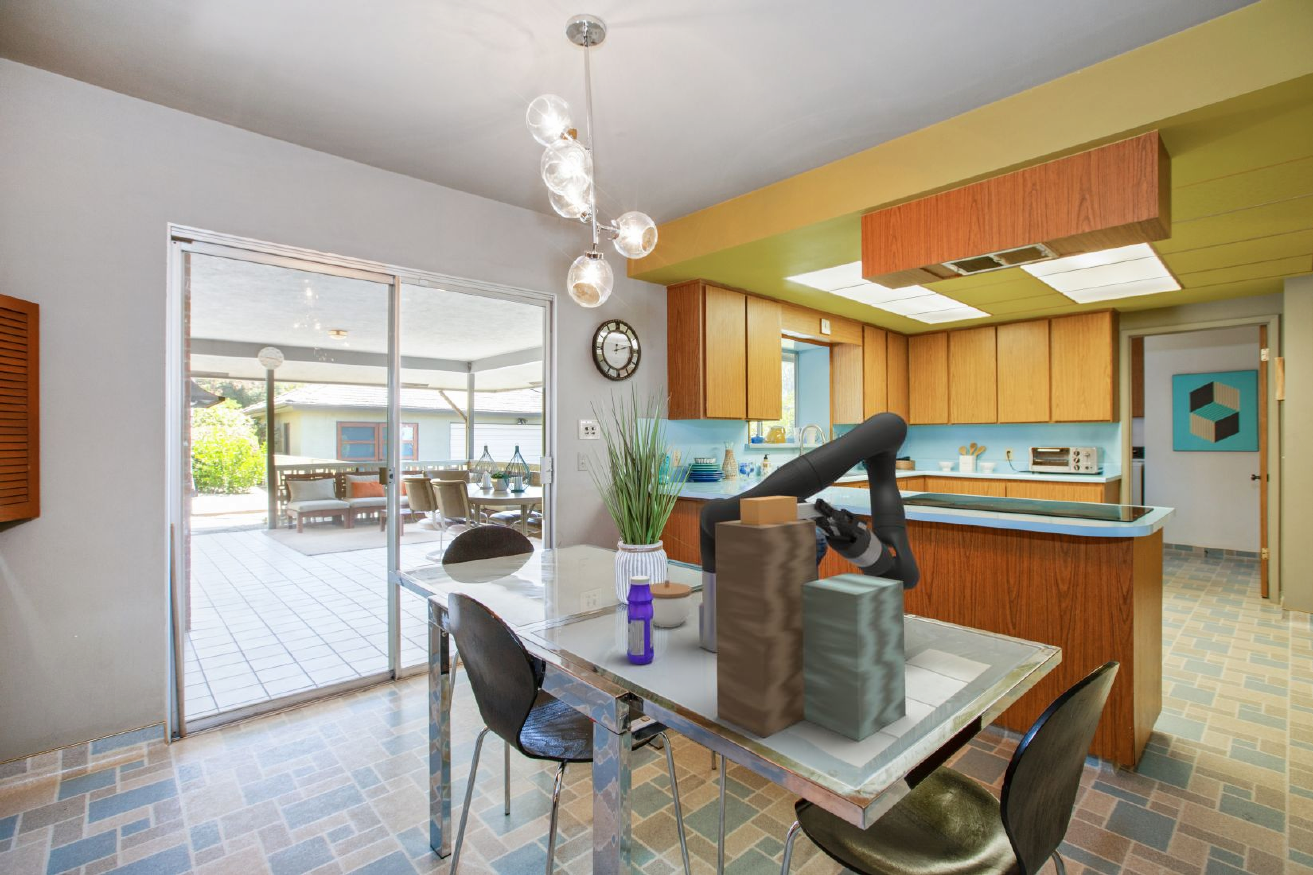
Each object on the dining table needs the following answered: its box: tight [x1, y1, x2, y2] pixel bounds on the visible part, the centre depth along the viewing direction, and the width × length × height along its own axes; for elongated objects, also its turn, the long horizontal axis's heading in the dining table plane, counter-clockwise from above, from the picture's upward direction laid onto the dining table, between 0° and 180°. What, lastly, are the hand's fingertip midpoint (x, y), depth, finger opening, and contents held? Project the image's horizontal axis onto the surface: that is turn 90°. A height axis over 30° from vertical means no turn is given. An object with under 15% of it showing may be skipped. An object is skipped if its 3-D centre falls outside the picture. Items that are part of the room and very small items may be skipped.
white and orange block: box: [740, 496, 832, 525], centre depth 105 cm, size 21×4×4 cm, turn 130°
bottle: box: [626, 575, 655, 665], centre depth 127 cm, size 7×6×17 cm
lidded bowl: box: [649, 579, 693, 629], centre depth 153 cm, size 13×13×11 cm
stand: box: [715, 519, 907, 742], centre depth 99 cm, size 24×20×32 cm
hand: (807, 502), depth 108 cm, fingers open, 3 cm apart
